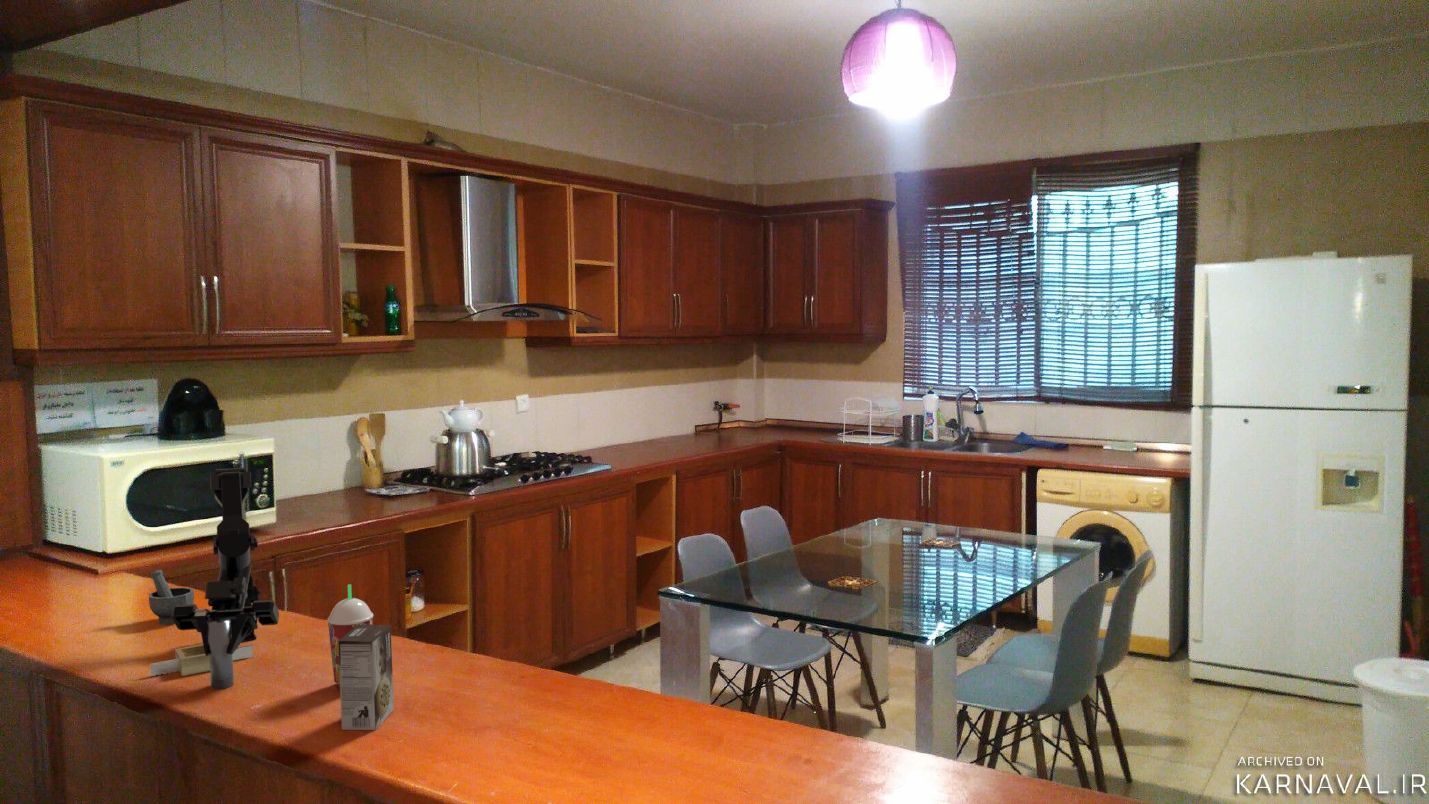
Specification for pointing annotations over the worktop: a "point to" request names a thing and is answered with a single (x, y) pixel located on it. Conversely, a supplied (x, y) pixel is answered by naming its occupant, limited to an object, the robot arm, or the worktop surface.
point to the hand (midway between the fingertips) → (218, 654)
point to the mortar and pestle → (167, 598)
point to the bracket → (194, 660)
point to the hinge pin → (220, 653)
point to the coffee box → (366, 677)
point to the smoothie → (346, 625)
